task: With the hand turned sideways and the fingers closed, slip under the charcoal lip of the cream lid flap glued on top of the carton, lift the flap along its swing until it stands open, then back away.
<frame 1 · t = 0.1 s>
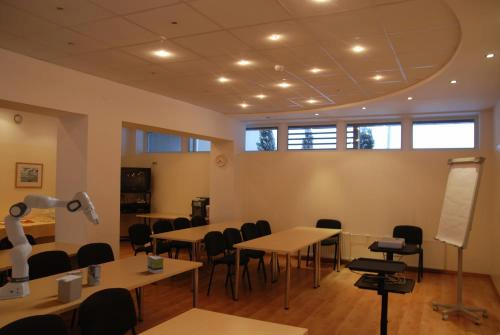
hand: (97, 224, 315), 54 cm above the table, tool tilted 30°, fingers open, 8 cm apart
candy bar box: (73, 292, 310), on the table
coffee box: (93, 284, 333), on the table
flap: (68, 278, 290), point 16 cm above the table, hinge at 0.0°
carton: (69, 299, 292), on the table
tea box: (155, 272, 382), on the table
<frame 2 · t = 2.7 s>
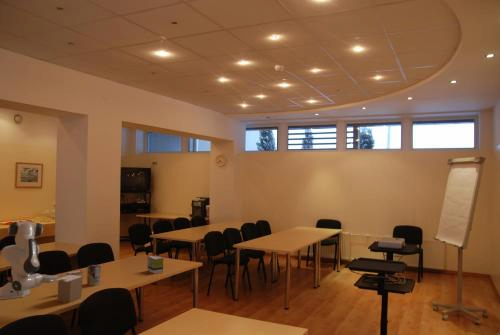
hand: (50, 276, 273), 22 cm above the table, tool horizontal, fingers open, 8 cm apart
nothing on the table moved.
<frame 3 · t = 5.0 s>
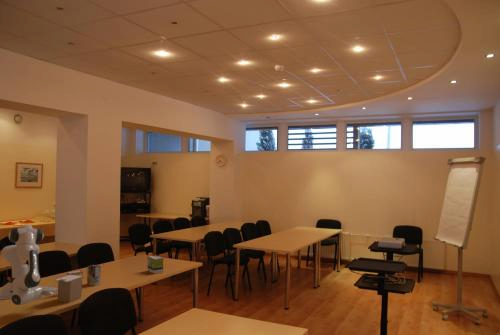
hand: (51, 287, 274), 14 cm above the table, tool horizontal, fingers closed
nothing on the table moved.
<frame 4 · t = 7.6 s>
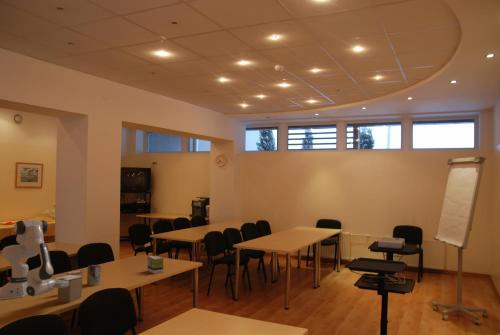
hand: (62, 280, 285), 16 cm above the table, tool horizontal, fingers closed, pressing on flap
flap: (68, 277, 290), point 17 cm above the table, hinge at 4.0°, touching gripper
everything else where it was.
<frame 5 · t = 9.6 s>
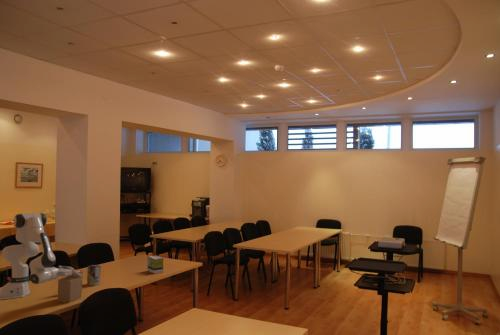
hand: (66, 269, 288), 24 cm above the table, tool horizontal, fingers closed, pressing on flap
flap: (70, 271, 292), point 21 cm above the table, hinge at 39.0°, touching gripper
everything else where it was.
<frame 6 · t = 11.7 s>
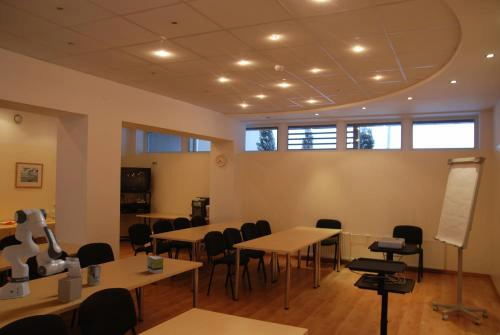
hand: (72, 262, 294), 28 cm above the table, tool horizontal, fingers closed, pressing on flap
flap: (73, 266, 296), point 24 cm above the table, hinge at 72.1°, touching gripper
everything else where it was.
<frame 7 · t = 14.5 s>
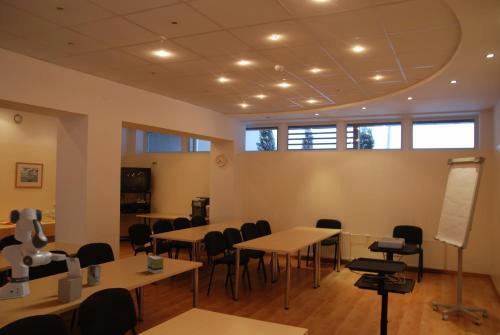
hand: (59, 255, 282), 35 cm above the table, tool horizontal, fingers closed
flap: (73, 266, 296), point 24 cm above the table, hinge at 72.1°
everything else where it was.
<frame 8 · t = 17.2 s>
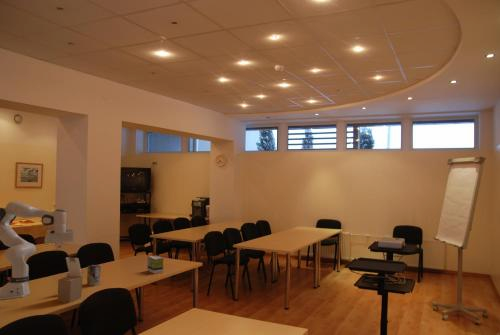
hand: (59, 248, 300), 37 cm above the table, tool pointing down, fingers closed
nothing on the table moved.
at the end: flap at +72° (first picture: +0°); the gripper is holding nothing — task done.
